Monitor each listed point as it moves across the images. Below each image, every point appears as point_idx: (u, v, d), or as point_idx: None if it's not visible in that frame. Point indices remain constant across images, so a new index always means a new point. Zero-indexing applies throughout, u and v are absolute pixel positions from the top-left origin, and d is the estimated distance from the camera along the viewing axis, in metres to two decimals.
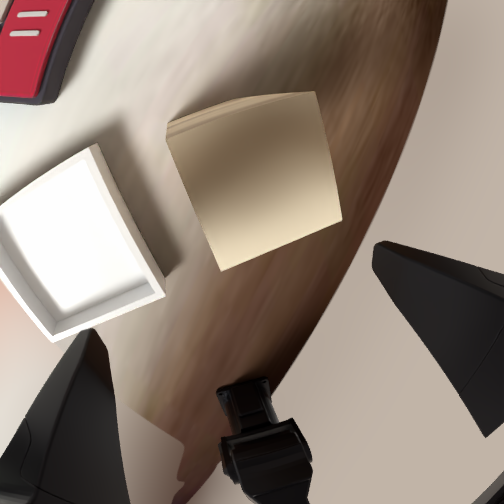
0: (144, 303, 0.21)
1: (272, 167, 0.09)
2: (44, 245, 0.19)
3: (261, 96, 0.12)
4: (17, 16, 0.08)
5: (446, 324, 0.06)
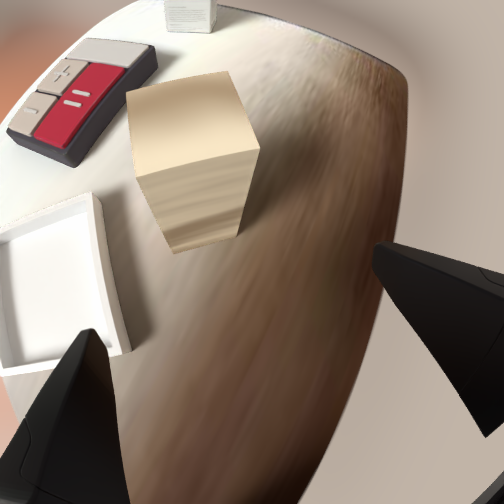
0: None
1: (191, 106, 0.11)
2: (31, 279, 0.19)
3: None
4: (72, 91, 0.21)
5: (446, 324, 0.06)
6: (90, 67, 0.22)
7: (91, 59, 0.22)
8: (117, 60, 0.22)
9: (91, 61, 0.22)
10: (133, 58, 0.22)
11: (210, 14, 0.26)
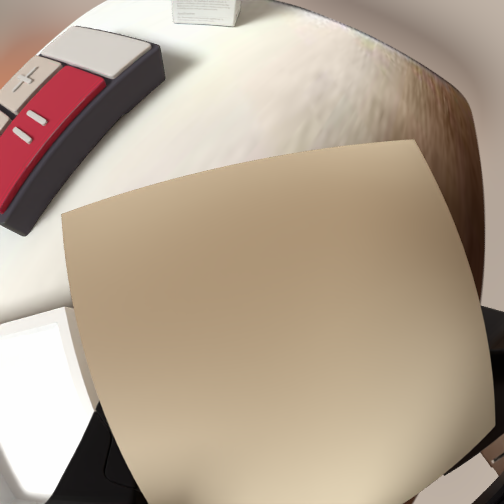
0: None
1: (356, 320, 0.03)
2: (8, 410, 0.10)
3: None
4: (26, 113, 0.12)
5: None
6: (60, 73, 0.13)
7: (67, 59, 0.14)
8: (99, 64, 0.14)
9: (68, 62, 0.14)
10: (122, 63, 0.14)
11: (236, 0, 0.18)
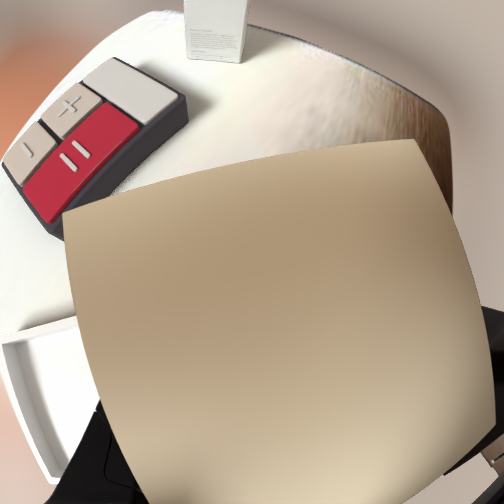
0: None
1: (357, 320, 0.03)
2: (64, 389, 0.16)
3: None
4: (72, 142, 0.18)
5: None
6: (101, 109, 0.19)
7: (106, 95, 0.20)
8: (134, 107, 0.20)
9: (107, 97, 0.20)
10: (153, 111, 0.20)
11: (242, 41, 0.23)
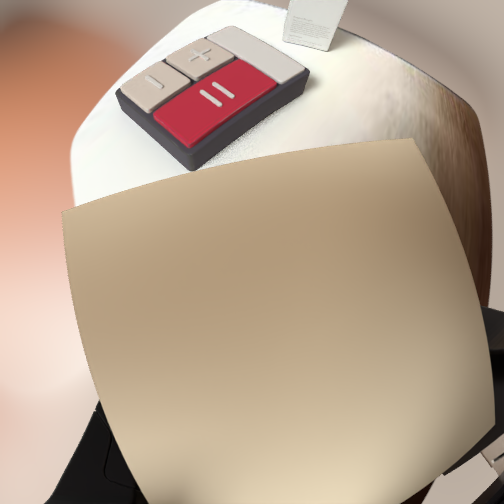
0: None
1: (355, 317, 0.03)
2: None
3: None
4: (212, 83, 0.21)
5: None
6: (237, 63, 0.22)
7: (238, 54, 0.23)
8: (268, 69, 0.23)
9: (237, 56, 0.23)
10: (287, 75, 0.23)
11: (334, 33, 0.26)
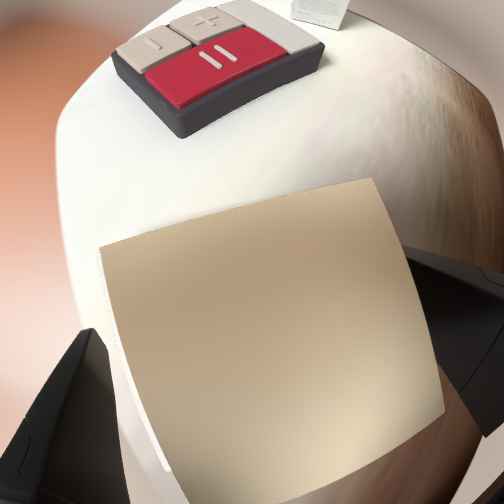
0: None
1: (312, 322, 0.04)
2: None
3: None
4: (214, 46, 0.18)
5: (446, 324, 0.06)
6: (244, 30, 0.19)
7: (247, 22, 0.19)
8: (279, 38, 0.19)
9: (246, 25, 0.20)
10: (300, 46, 0.19)
11: (345, 11, 0.23)
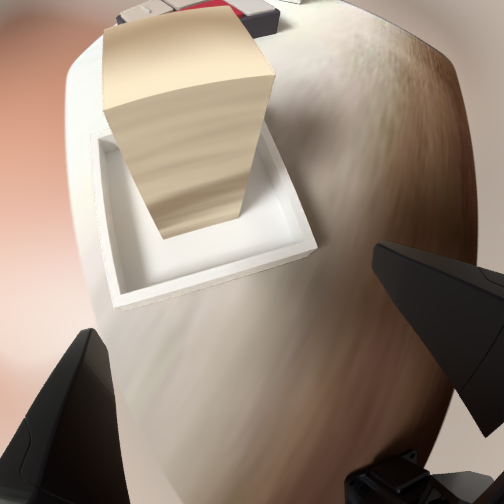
0: (289, 254, 0.17)
1: (184, 34, 0.08)
2: None
3: None
4: None
5: (446, 324, 0.06)
6: (215, 1, 0.22)
7: None
8: (241, 6, 0.22)
9: None
10: (256, 10, 0.22)
11: None
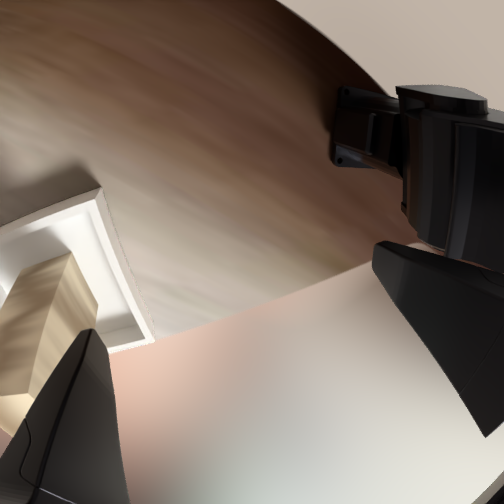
0: (102, 226, 0.16)
1: (16, 421, 0.09)
2: None
3: None
4: None
5: (446, 324, 0.06)
6: None
7: None
8: None
9: None
10: None
11: None
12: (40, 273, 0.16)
